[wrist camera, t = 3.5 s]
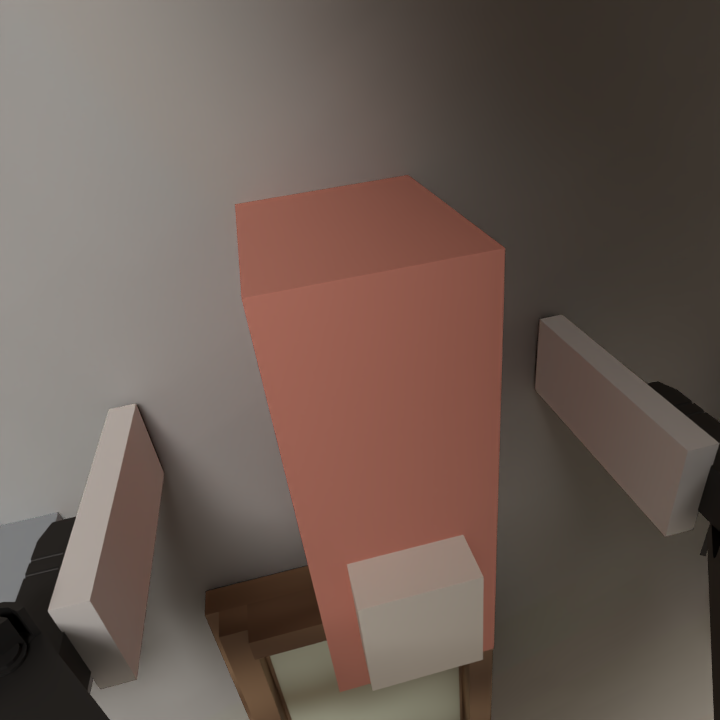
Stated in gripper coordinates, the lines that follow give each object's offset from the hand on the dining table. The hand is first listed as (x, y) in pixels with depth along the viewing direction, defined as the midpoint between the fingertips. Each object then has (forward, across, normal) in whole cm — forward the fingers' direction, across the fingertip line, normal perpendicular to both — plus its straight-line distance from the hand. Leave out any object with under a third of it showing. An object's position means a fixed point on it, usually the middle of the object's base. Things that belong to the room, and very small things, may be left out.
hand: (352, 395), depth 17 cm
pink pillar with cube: (0, 0, 0) cm, 0 cm away
